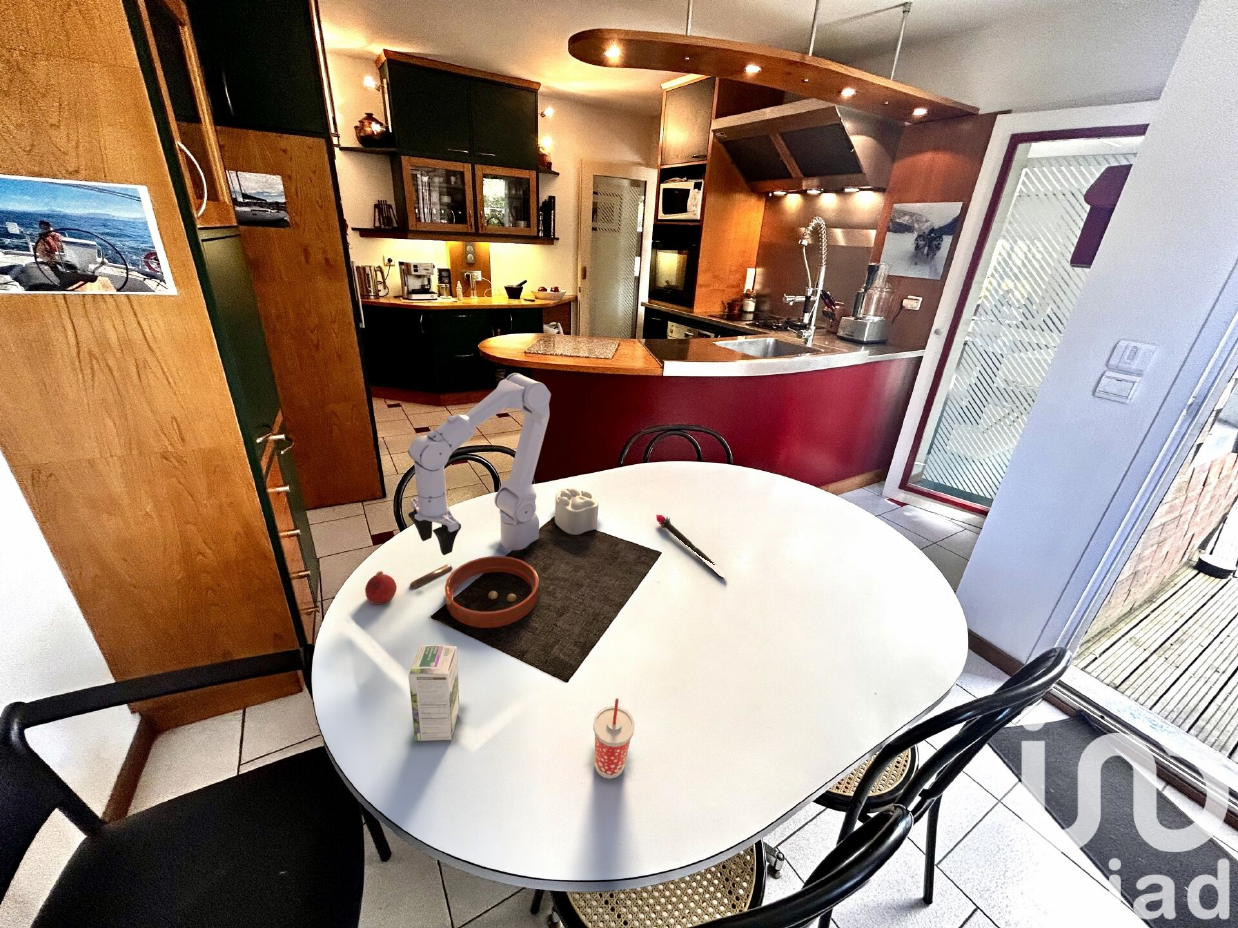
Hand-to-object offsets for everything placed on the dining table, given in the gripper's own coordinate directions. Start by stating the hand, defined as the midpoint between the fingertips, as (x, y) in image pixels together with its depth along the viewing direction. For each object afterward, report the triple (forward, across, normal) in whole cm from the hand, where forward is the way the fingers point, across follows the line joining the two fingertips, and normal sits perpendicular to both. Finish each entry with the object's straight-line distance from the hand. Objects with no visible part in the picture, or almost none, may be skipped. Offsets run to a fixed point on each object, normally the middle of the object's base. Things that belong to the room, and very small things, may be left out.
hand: (436, 545), depth 109 cm
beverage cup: (+9, +57, -9) cm, 58 cm away
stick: (+9, 0, -2) cm, 9 cm away
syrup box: (+9, +32, -22) cm, 40 cm away
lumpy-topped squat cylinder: (+9, +5, +40) cm, 41 cm away
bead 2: (+7, +19, +5) cm, 21 cm away
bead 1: (+7, +15, +3) cm, 17 cm away
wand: (+9, +36, +52) cm, 63 cm away
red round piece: (+9, -1, -13) cm, 16 cm away
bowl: (+9, +15, +3) cm, 18 cm away
